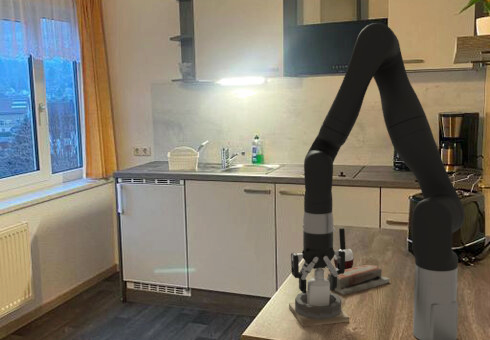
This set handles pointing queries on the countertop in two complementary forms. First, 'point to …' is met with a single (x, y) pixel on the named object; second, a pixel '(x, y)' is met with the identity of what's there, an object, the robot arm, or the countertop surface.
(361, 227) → the countertop surface
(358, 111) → the robot arm
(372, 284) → the packaged product
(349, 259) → the red-capped knob on stick
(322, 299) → the eye dropper bottle
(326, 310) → the collar board
